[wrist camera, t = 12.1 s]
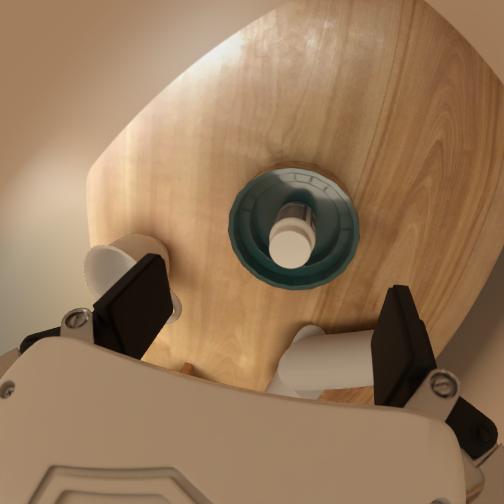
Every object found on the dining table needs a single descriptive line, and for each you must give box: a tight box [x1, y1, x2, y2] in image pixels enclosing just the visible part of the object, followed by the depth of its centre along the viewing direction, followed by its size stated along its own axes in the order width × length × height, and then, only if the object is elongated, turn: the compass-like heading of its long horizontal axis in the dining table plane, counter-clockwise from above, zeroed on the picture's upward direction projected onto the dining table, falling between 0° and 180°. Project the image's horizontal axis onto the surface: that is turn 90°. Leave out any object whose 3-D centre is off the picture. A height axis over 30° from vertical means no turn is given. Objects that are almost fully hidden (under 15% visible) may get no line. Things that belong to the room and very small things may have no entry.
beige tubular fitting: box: [265, 325, 374, 400], centre depth 39 cm, size 18×10×20 cm
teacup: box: [84, 234, 182, 324], centre depth 38 cm, size 12×15×10 cm
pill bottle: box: [269, 201, 316, 269], centre depth 30 cm, size 5×5×8 cm
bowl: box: [228, 161, 360, 290], centre depth 32 cm, size 14×14×5 cm
